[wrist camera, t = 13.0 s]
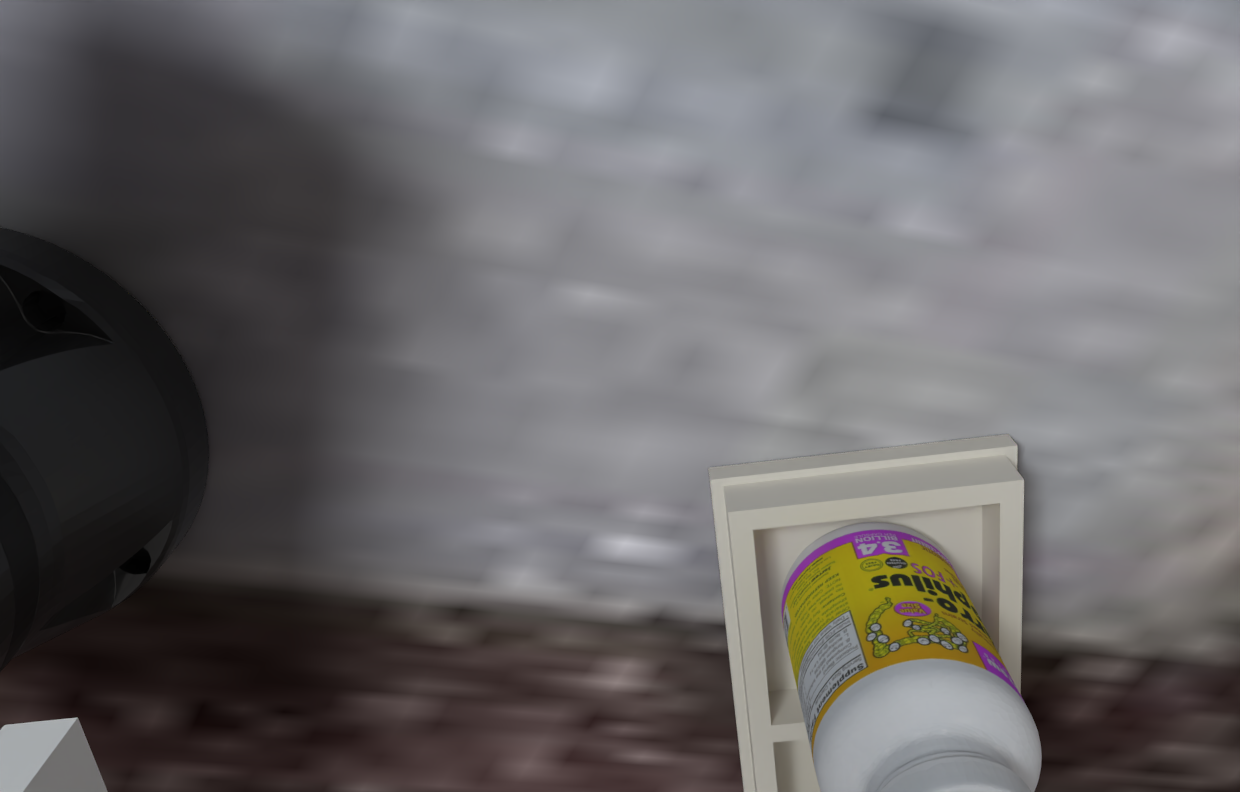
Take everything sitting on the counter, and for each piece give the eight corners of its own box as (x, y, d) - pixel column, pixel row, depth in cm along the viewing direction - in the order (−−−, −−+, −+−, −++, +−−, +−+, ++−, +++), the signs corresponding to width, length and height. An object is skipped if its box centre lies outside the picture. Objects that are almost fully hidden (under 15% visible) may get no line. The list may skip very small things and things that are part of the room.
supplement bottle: (989, 567, 39) (1145, 828, 27) (881, 689, 41) (982, 981, 29) (846, 482, 38) (944, 717, 26) (741, 613, 40) (788, 885, 28)
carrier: (1003, 848, 46) (1028, 905, 43) (752, 871, 46) (760, 928, 44) (1008, 434, 38) (1037, 470, 35) (708, 467, 39) (714, 506, 36)
